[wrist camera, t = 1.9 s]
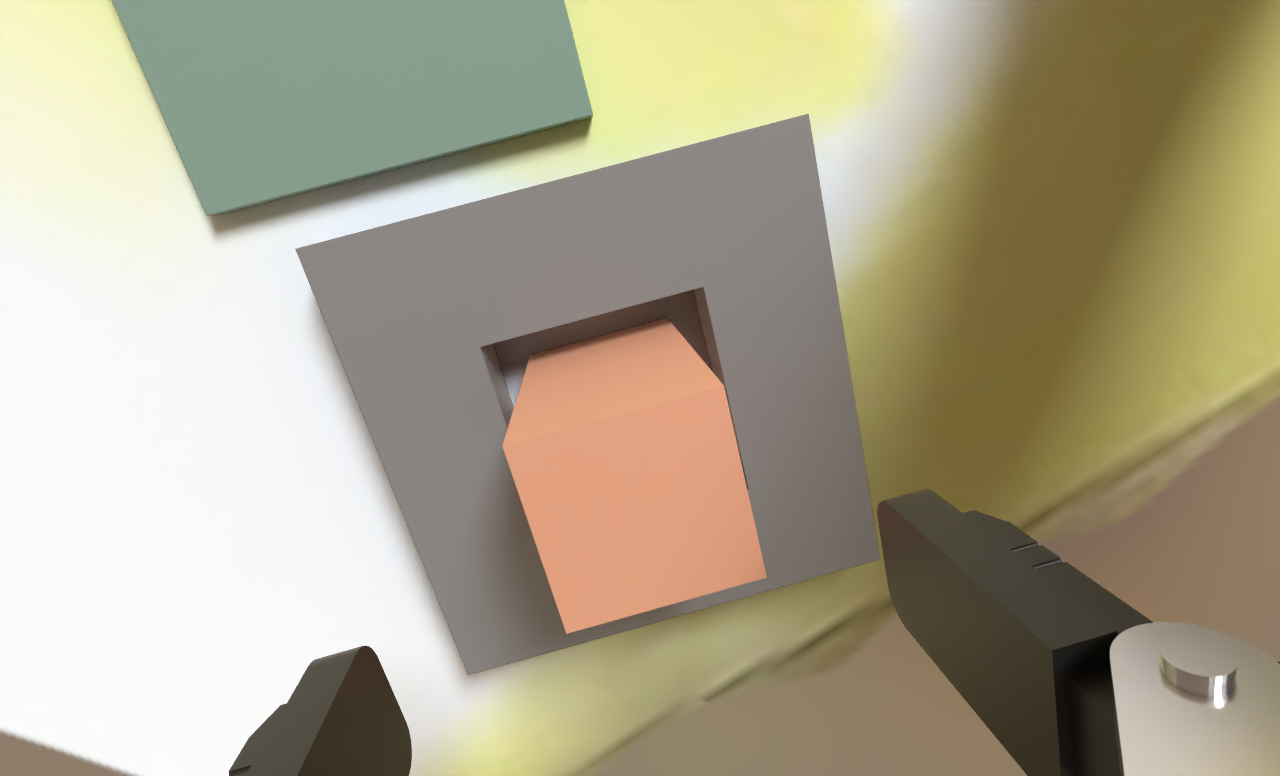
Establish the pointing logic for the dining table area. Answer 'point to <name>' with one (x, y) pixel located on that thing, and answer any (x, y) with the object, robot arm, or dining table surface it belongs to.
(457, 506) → the pocket plate
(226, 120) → the rubber pad
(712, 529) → the terracotta block
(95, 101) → the dining table surface
